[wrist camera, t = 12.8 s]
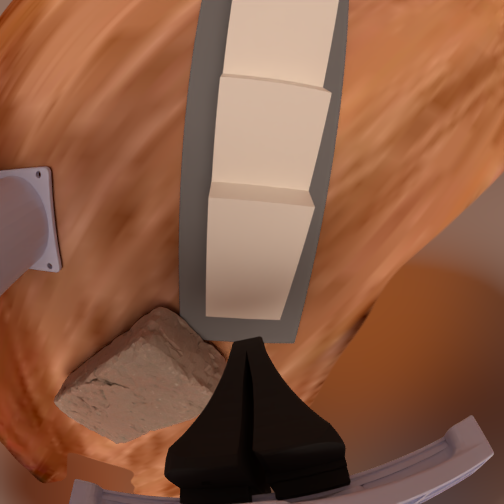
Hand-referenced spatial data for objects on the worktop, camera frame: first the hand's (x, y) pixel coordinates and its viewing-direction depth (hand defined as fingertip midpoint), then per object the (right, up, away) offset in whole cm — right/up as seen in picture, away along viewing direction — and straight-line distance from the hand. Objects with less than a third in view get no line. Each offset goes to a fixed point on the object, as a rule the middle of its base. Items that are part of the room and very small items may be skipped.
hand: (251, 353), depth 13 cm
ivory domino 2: (0, +6, +4) cm, 7 cm away
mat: (0, +11, +3) cm, 11 cm away
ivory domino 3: (-1, +1, +6) cm, 6 cm away
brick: (-10, -6, +10) cm, 16 cm away
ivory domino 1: (+1, +11, +2) cm, 11 cm away
